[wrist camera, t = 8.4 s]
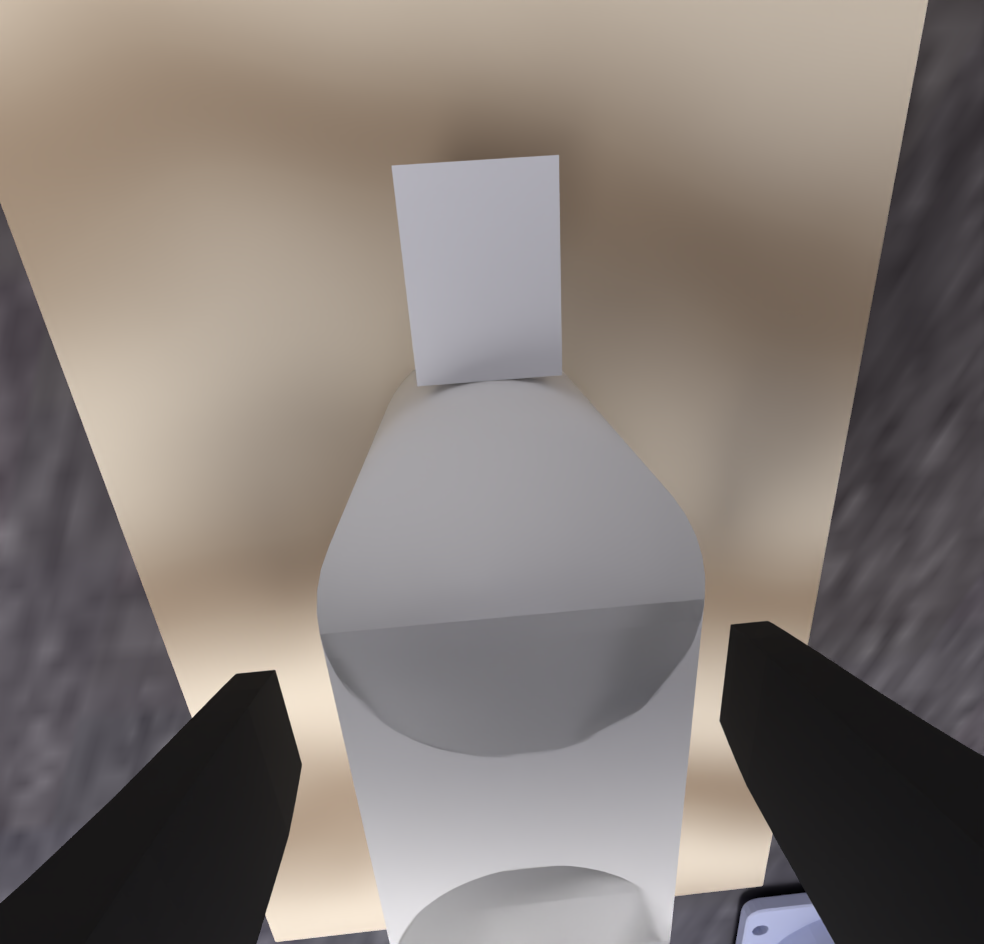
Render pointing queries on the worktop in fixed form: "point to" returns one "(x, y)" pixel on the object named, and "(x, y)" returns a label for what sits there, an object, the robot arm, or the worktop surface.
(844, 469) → the worktop surface
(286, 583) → the pad
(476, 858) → the plug
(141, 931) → the robot arm
